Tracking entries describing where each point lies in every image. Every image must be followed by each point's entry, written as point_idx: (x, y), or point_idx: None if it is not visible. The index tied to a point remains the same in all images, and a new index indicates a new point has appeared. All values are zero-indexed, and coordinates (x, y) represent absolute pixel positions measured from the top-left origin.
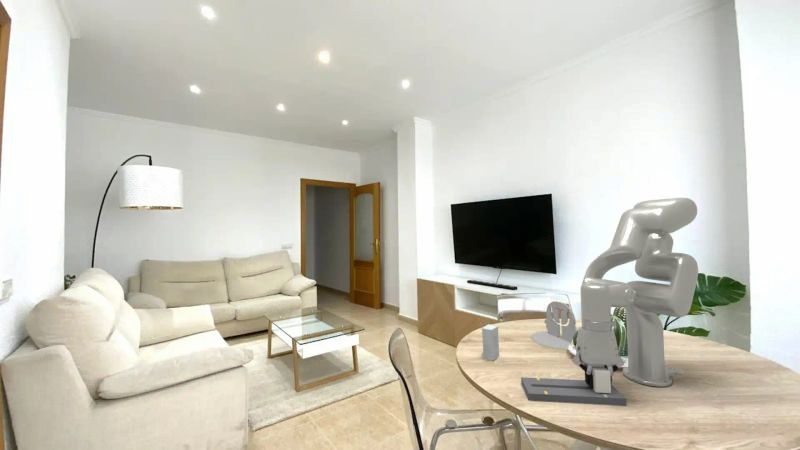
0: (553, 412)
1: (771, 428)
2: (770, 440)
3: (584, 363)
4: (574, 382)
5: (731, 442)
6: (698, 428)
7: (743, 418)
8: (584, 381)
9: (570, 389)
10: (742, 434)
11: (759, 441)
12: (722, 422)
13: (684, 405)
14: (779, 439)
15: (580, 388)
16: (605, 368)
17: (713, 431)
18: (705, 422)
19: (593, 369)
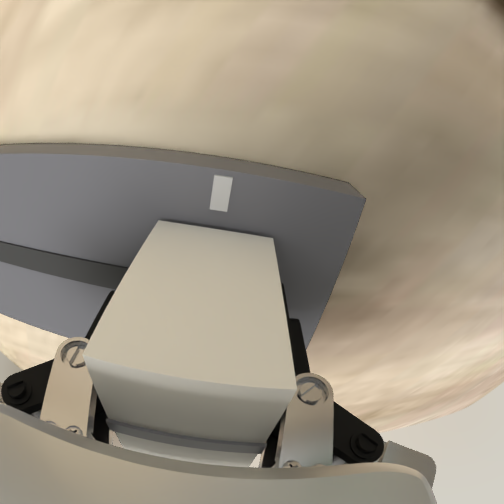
0: (14, 338)
1: (494, 381)
2: (451, 410)
3: (50, 411)
4: (76, 200)
5: (387, 430)
6: (383, 412)
7: (501, 362)
8: (154, 185)
9: (42, 284)
10: (436, 408)
11: (433, 417)
12: (456, 384)
13: (477, 332)
14: (465, 405)
15: (90, 283)
16: (251, 453)
17: (400, 413)
18: (426, 392)
19: (125, 444)
